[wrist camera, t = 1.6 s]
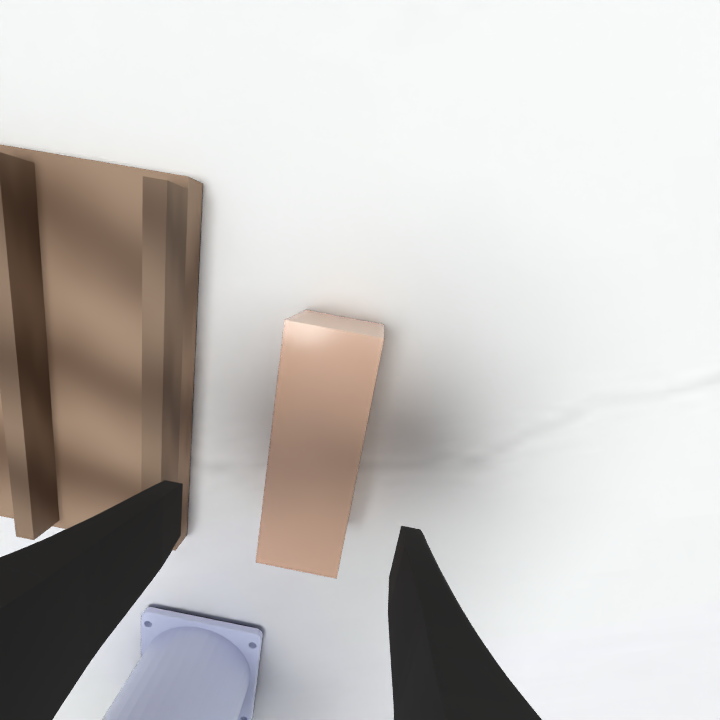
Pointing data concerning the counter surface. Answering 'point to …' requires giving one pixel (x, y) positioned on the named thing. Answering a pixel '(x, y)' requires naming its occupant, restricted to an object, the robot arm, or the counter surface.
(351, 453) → the peach rectangular block
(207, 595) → the counter surface
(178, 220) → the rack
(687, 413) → the counter surface
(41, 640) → the robot arm
